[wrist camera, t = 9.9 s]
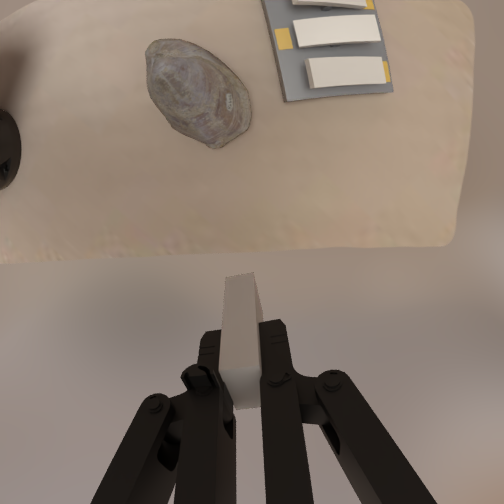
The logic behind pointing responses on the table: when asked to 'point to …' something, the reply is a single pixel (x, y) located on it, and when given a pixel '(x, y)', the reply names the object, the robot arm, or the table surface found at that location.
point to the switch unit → (316, 49)
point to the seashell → (196, 92)
